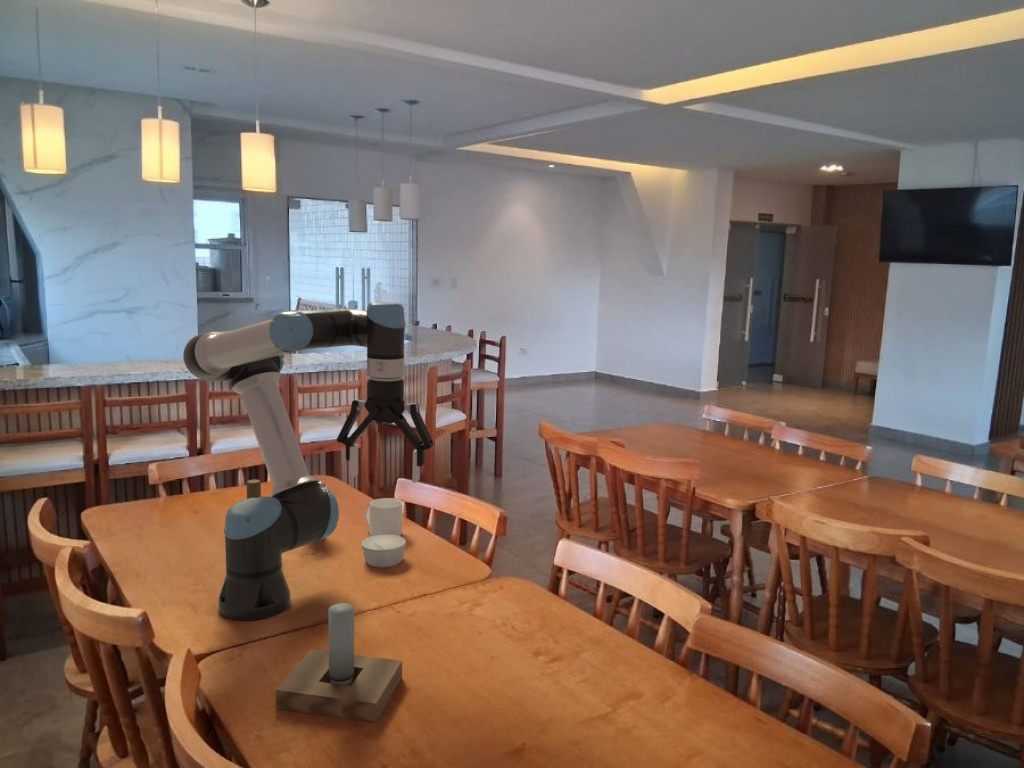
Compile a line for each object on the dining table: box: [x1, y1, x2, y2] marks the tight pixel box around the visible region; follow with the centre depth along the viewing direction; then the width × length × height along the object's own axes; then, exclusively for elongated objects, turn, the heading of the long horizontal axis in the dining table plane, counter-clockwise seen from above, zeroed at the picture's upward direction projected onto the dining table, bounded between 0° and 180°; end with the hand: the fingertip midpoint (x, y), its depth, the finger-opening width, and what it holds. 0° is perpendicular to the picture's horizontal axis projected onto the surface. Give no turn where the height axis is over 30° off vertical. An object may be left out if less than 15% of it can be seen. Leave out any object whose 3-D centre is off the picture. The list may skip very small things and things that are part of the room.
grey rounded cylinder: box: [328, 602, 355, 686], centre depth 132 cm, size 4×4×16 cm
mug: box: [364, 497, 403, 537], centre depth 212 cm, size 12×9×9 cm
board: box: [275, 649, 403, 724], centre depth 133 cm, size 18×14×4 cm
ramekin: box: [361, 535, 407, 569], centre depth 193 cm, size 11×11×5 cm
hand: (384, 478), depth 156 cm, fingers open, 13 cm apart
